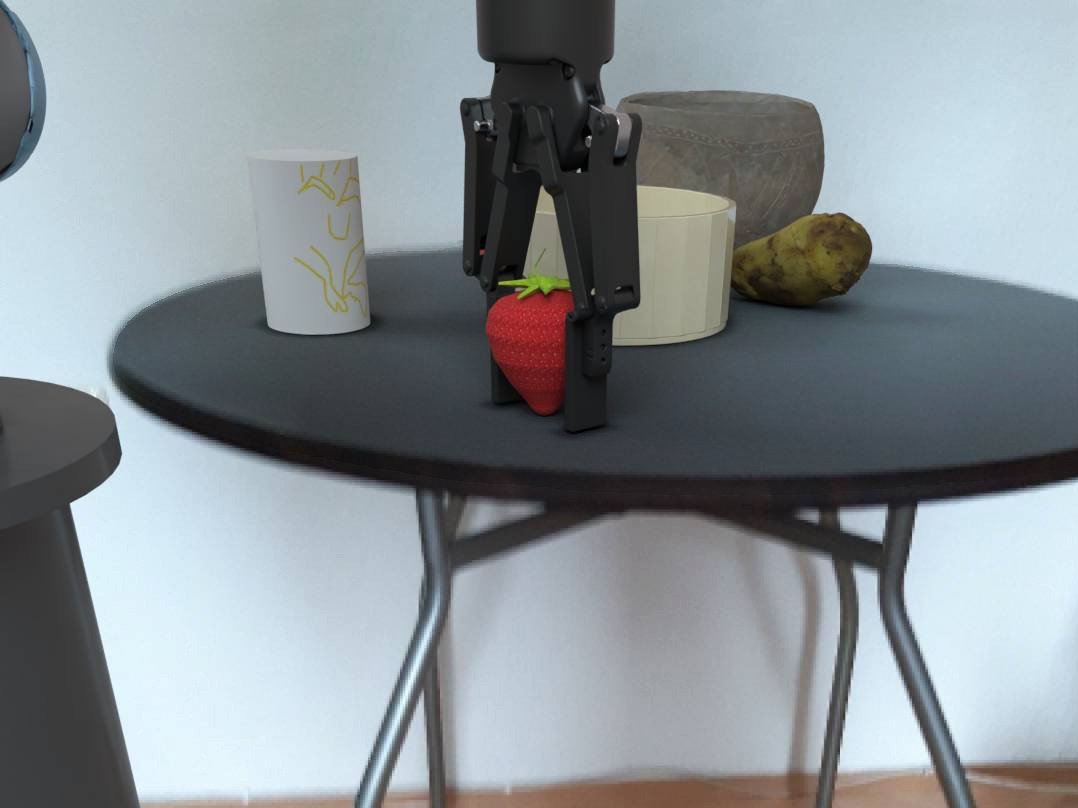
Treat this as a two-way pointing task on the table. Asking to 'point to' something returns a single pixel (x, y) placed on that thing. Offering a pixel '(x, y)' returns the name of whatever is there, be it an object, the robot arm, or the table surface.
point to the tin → (661, 264)
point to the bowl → (734, 152)
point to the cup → (310, 240)
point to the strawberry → (532, 338)
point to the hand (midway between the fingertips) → (547, 411)
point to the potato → (803, 261)
